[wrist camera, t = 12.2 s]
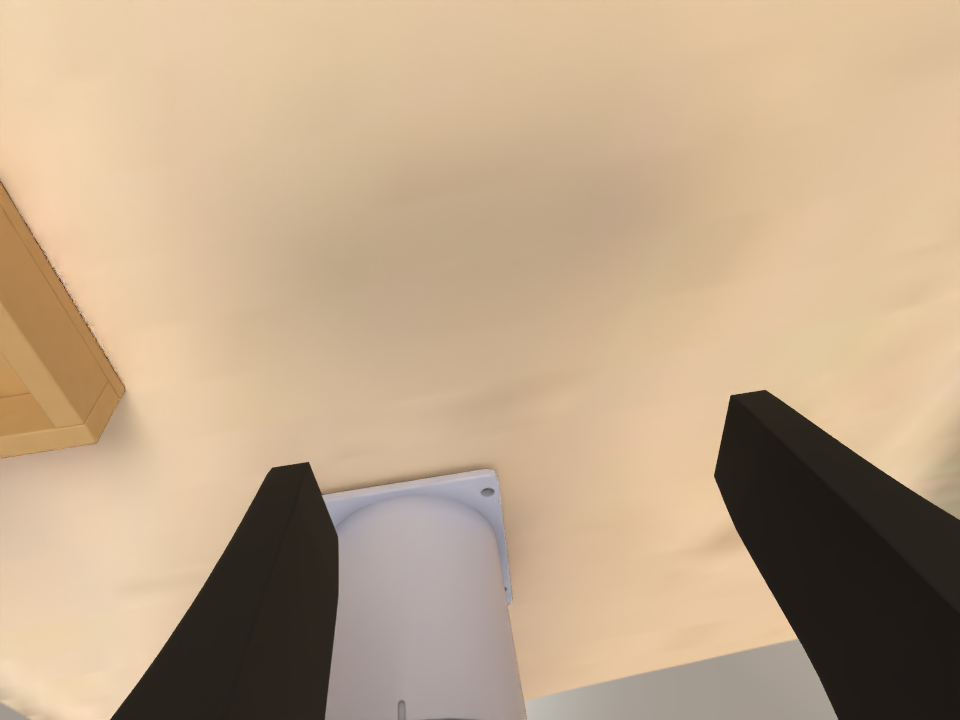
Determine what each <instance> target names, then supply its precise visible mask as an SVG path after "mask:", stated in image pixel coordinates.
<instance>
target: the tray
mask: <svg viewBox="0 0 960 720" xmlns="http://www.w3.org/2000/svg"><path fill="white" fill-rule="evenodd" d="M124 391H125V389H124V387H123V385H122V384H121V382H120V380H119V379H118V377H117V375H116V374H115V372H114V370H113V369H112V367H111V365H110V364H109V362H108V360H107V359H106V357H105V356H104V354H103V352H102V351H101V349H100V347H99V346H98V344H97V342H96V341H95V339H94V337H93V336H92V334H91V332H90V331H89V329H88V327H87V326H86V324H85V322H84V321H83V319H82V317H81V316H80V314H79V312H78V311H77V309H76V307H75V306H74V304H73V302H72V301H71V299H70V297H69V296H68V294H67V292H66V291H65V289H64V287H63V286H62V284H61V282H60V281H59V279H58V277H57V276H56V274H55V272H54V271H53V269H52V268H51V266H50V264H49V263H48V261H47V259H46V258H45V256H44V254H43V253H42V251H41V249H40V248H39V246H38V244H37V243H36V241H35V239H34V238H33V236H32V234H31V233H30V231H29V229H28V228H27V226H26V224H25V223H24V221H23V219H22V218H21V216H20V214H19V213H18V211H17V209H16V208H15V206H14V204H13V203H12V201H11V199H10V198H9V196H8V194H7V193H6V191H5V189H4V188H3V186H2V184H1V183H0V458H5V457H12V456H18V455H25V454H31V453H37V452H44V451H50V450H57V449H63V448H70V447H76V446H83V445H89V444H95V443H97V442H98V440H99V438H100V436H101V434H102V433H103V431H104V429H105V427H106V425H107V423H108V421H109V419H110V417H111V415H112V413H113V411H114V410H115V408H116V406H117V404H118V402H119V399H120V398H121V396H122V394H123V393H124Z"/></svg>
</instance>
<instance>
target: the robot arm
mask: <svg viewBox="0 0 960 720" xmlns="http://www.w3.org/2000/svg"><path fill="white" fill-rule="evenodd" d="M714 477H715V480H716V482H717V485H718V487H719V490H720V492H721V495H722V497H723V500H724V502H725V505H726V507H727V509H728V512H729V514H730V516H731V519H732V521H733V523H734V526H735V528H736V530H737V532H738V534H739V536H740V537H741V539H742V541H743V543H744V545H745V546H746V548H747V550H748V552H749V553H750V555H751V557H752V559H753V561H754V562H755V564H756V566H757V568H758V569H759V571H760V573H761V575H762V576H763V578H764V580H765V582H766V583H767V585H768V587H769V589H770V590H771V592H772V594H773V595H774V597H775V599H776V601H777V602H778V604H779V606H780V608H781V609H782V611H783V613H784V615H785V616H786V618H787V620H788V622H789V623H790V625H791V627H792V629H793V630H794V632H795V634H796V635H797V637H798V639H799V641H800V642H801V644H802V646H803V648H804V649H805V651H806V653H807V655H808V657H809V659H810V661H811V663H812V665H813V667H814V668H815V670H816V672H817V674H818V676H819V678H820V680H821V682H822V685H823V687H824V689H825V691H826V693H827V696H828V698H829V700H830V702H831V704H832V706H833V709H834V711H835V713H836V715H837V717H838V720H960V520H959V519H957V518H955V517H954V516H952V515H951V514H949V513H947V512H946V511H944V510H942V509H941V508H939V507H937V506H936V505H934V504H933V503H931V502H929V501H928V500H926V499H924V498H923V497H921V496H920V495H918V494H917V493H915V492H913V491H912V490H910V489H909V488H907V487H906V486H904V485H903V484H901V483H899V482H898V481H896V480H895V479H893V478H892V477H890V476H889V475H887V474H886V473H884V472H883V471H881V470H880V469H878V468H877V467H875V466H874V465H872V464H871V463H869V462H868V461H867V460H865V459H864V458H862V457H861V456H859V455H858V454H856V453H855V452H853V451H852V450H851V449H849V448H848V447H846V446H845V445H843V444H842V443H840V442H839V441H838V440H836V439H835V438H833V437H832V436H831V435H829V434H828V433H826V432H825V431H823V430H822V429H821V428H819V427H818V426H816V425H815V424H814V423H812V422H811V421H809V420H808V419H807V418H805V417H804V416H802V415H801V414H800V413H798V412H797V411H795V410H794V409H792V408H791V407H790V406H788V405H787V404H785V403H784V402H782V401H781V400H780V399H778V398H777V397H775V396H774V395H772V394H771V393H769V392H768V391H766V390H762V391H756V392H749V393H743V394H737V395H731V396H730V401H729V406H728V411H727V415H726V420H725V425H724V430H723V435H722V440H721V445H720V449H719V454H718V459H717V464H716V469H715V474H714ZM486 488H489V489H486ZM512 600H513V597H512V589H511V580H510V572H509V563H508V555H507V547H506V538H505V530H504V521H503V513H502V505H501V496H500V488H499V480H498V475H497V473H496V472H495V471H494V470H491V469H481V470H475V471H468V472H462V473H456V474H450V475H443V476H437V477H431V478H425V479H418V480H412V481H406V482H400V483H393V484H387V485H381V486H375V487H368V488H362V489H356V490H350V491H343V492H337V493H331V494H325V495H322V494H321V492H320V489H319V487H318V484H317V482H316V479H315V477H314V474H313V472H312V469H311V466H310V464H309V462H306V463H300V464H293V465H287V466H280V467H274V468H272V469H271V470H270V471H269V472H268V474H267V475H266V477H265V479H264V481H263V483H262V485H261V487H260V488H259V490H258V492H257V494H256V496H255V498H254V500H253V501H252V503H251V505H250V507H249V509H248V510H247V512H246V514H245V516H244V518H243V520H242V521H241V523H240V525H239V527H238V528H237V530H236V532H235V534H234V535H233V537H232V539H231V541H230V542H229V544H228V546H227V548H226V549H225V551H224V553H223V554H222V556H221V558H220V559H219V561H218V562H217V564H216V566H215V567H214V569H213V571H212V572H211V574H210V576H209V577H208V579H207V581H206V582H205V584H204V586H203V587H202V589H201V591H200V592H199V594H198V595H197V597H196V599H195V600H194V602H193V603H192V605H191V606H190V608H189V609H188V611H187V612H186V614H185V615H184V617H183V618H182V620H181V621H180V623H179V624H178V626H177V627H176V629H175V630H174V632H173V633H172V635H171V636H170V638H169V639H168V641H167V642H166V644H165V645H164V647H163V648H162V650H161V651H160V653H159V654H158V656H157V657H156V658H155V660H154V661H153V663H152V664H151V665H150V667H149V668H148V670H147V671H146V672H145V674H144V675H143V677H142V678H141V679H140V681H139V682H138V683H137V685H136V686H135V687H134V689H133V690H132V692H131V693H130V694H129V695H128V697H127V698H126V699H125V701H124V702H123V703H122V705H121V706H120V707H119V709H118V710H117V711H116V713H115V714H114V715H113V716H112V718H111V719H110V720H527V715H526V710H525V704H524V698H523V692H522V686H521V680H520V674H519V669H518V663H517V657H516V651H515V645H514V639H513V634H512V628H511V622H510V616H509V610H508V605H509V604H510V603H511V602H512Z"/></svg>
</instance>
